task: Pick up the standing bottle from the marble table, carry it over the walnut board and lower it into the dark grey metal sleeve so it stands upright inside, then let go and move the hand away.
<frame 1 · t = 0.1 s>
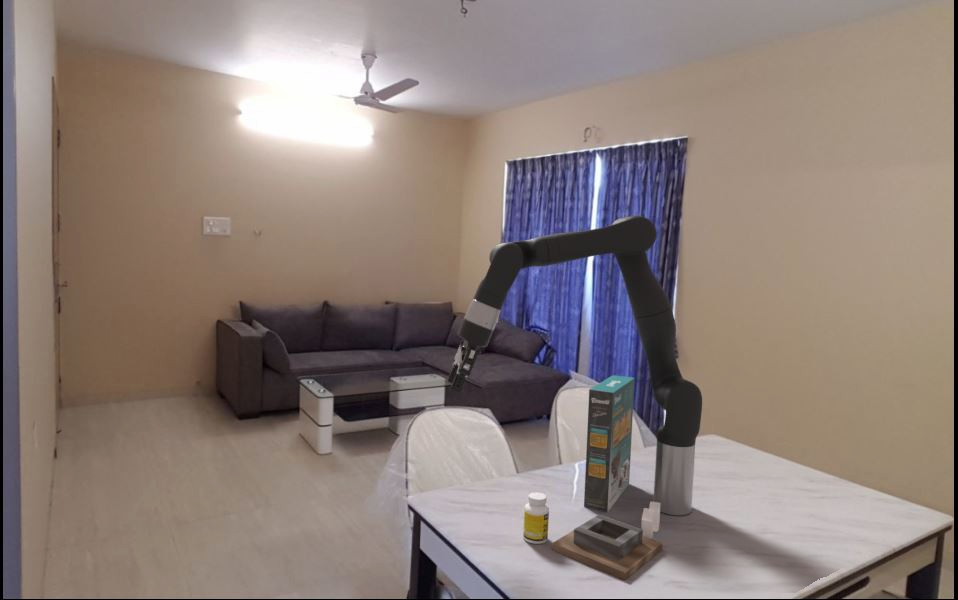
hand: (453, 386, 138), 31 cm above the table, tool tilted 20°, fingers open, 8 cm apart
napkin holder: (652, 534, 136), on the table
supplement bottle: (535, 539, 131), on the table
cake mix box: (607, 495, 157), on the table
sleeve board: (607, 549, 127), on the table
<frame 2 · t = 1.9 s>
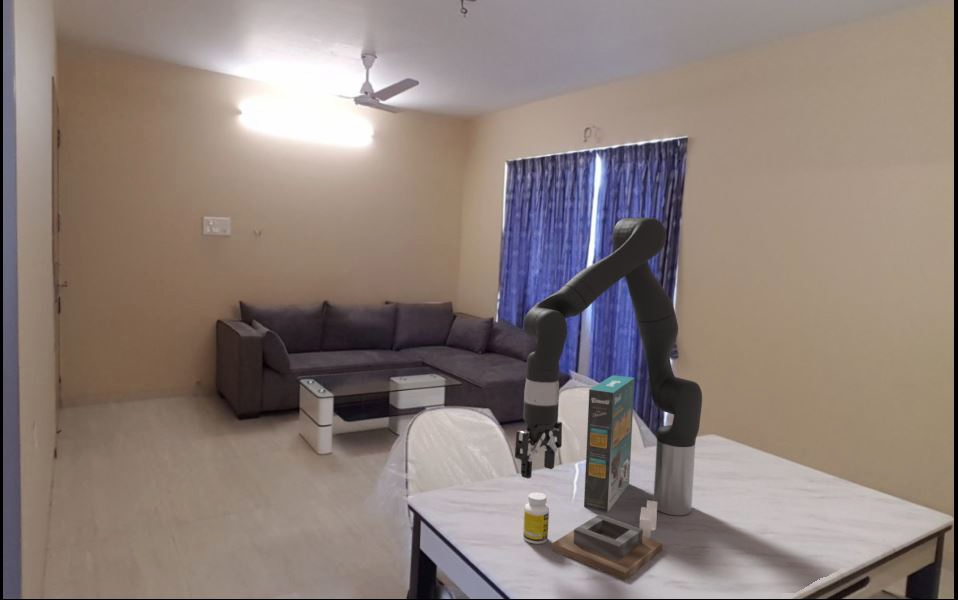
hand: (537, 472, 130), 15 cm above the table, tool pointing down, fingers open, 8 cm apart
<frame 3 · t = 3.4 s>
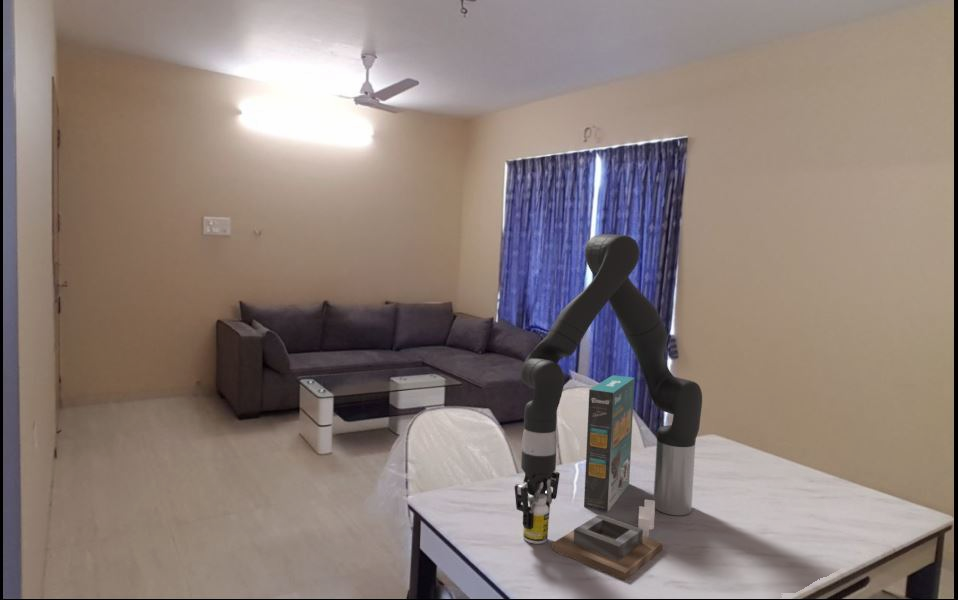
hand: (536, 523, 131), 4 cm above the table, tool pointing down, fingers closed on supplement bottle, 5 cm apart
supplement bottle: (535, 539, 131), on the table, touching gripper
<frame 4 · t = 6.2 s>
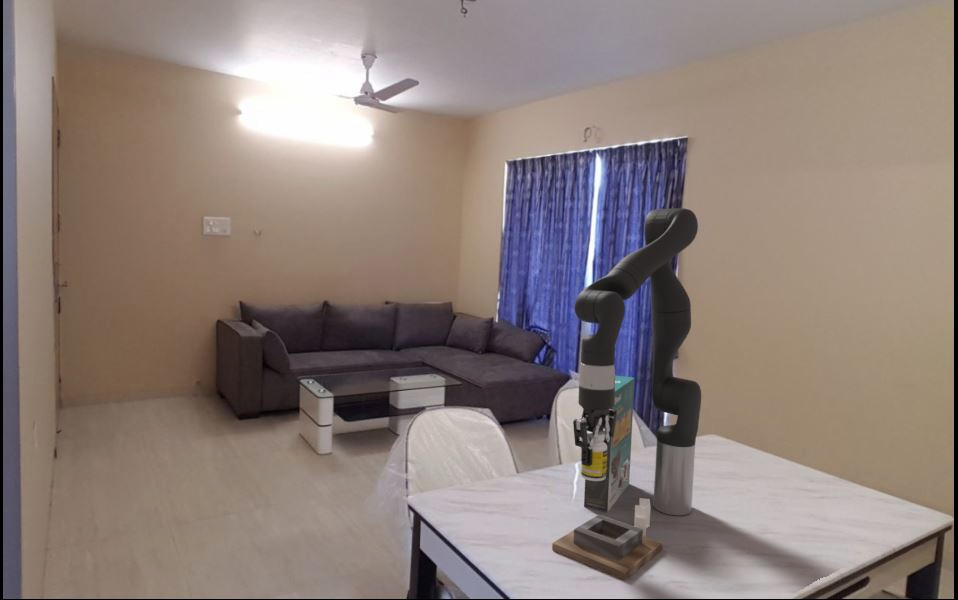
hand: (594, 461, 127), 19 cm above the table, tool pointing down, fingers closed on supplement bottle, 5 cm apart
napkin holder: (644, 530, 138), on the table
supplement bottle: (593, 478, 127), point 15 cm above the table, touching gripper
everything else where it was.
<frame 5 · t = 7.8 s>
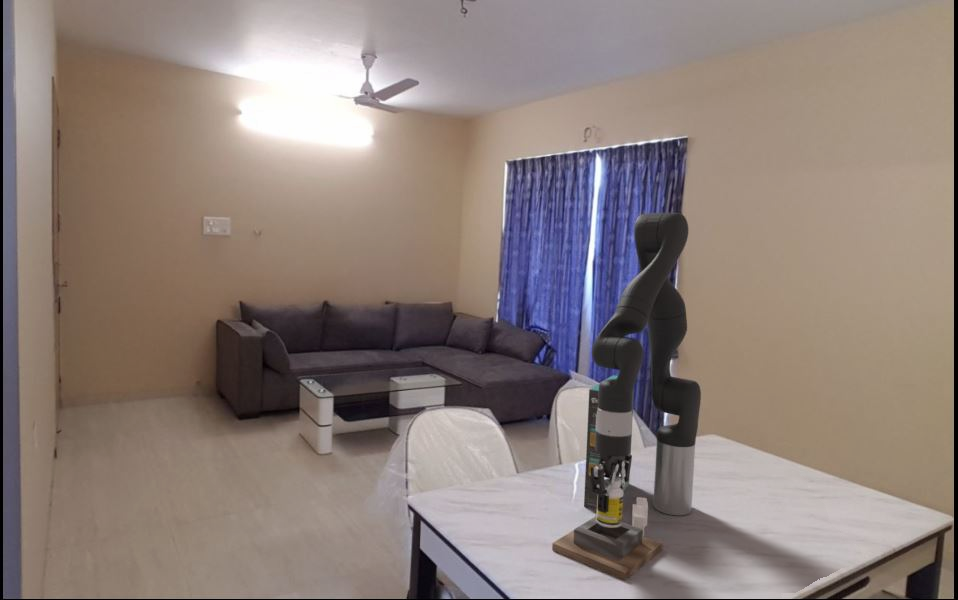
hand: (609, 506, 126), 9 cm above the table, tool pointing down, fingers closed on supplement bottle, 5 cm apart
supplement bottle: (608, 523, 126), point 6 cm above the table, touching gripper
when the fingers open (6 cm above the table, at t = 8.9 s): supplement bottle drops 1 cm, resting on sleeve board.
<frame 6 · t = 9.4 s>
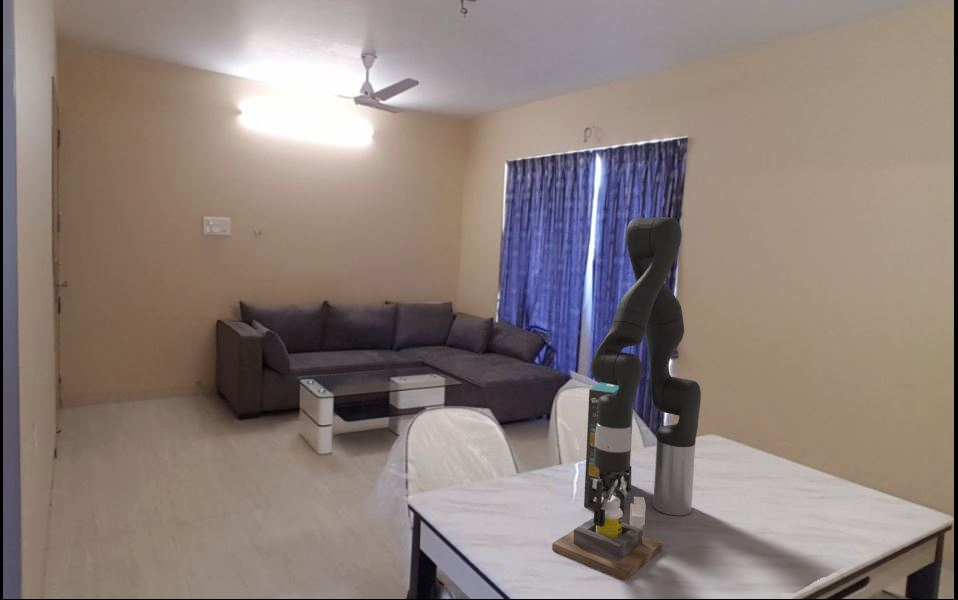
hand: (609, 519, 126), 7 cm above the table, tool pointing down, fingers open, 8 cm apart
supplement bottle: (608, 543, 127), point 1 cm above the table, touching sleeve board
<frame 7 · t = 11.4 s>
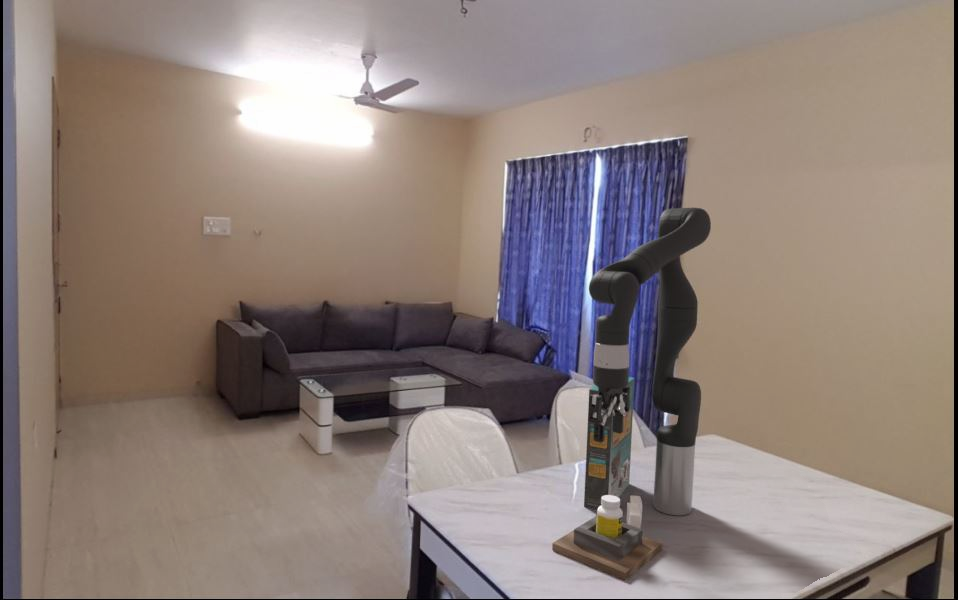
hand: (608, 436, 129), 24 cm above the table, tool pointing down, fingers open, 8 cm apart
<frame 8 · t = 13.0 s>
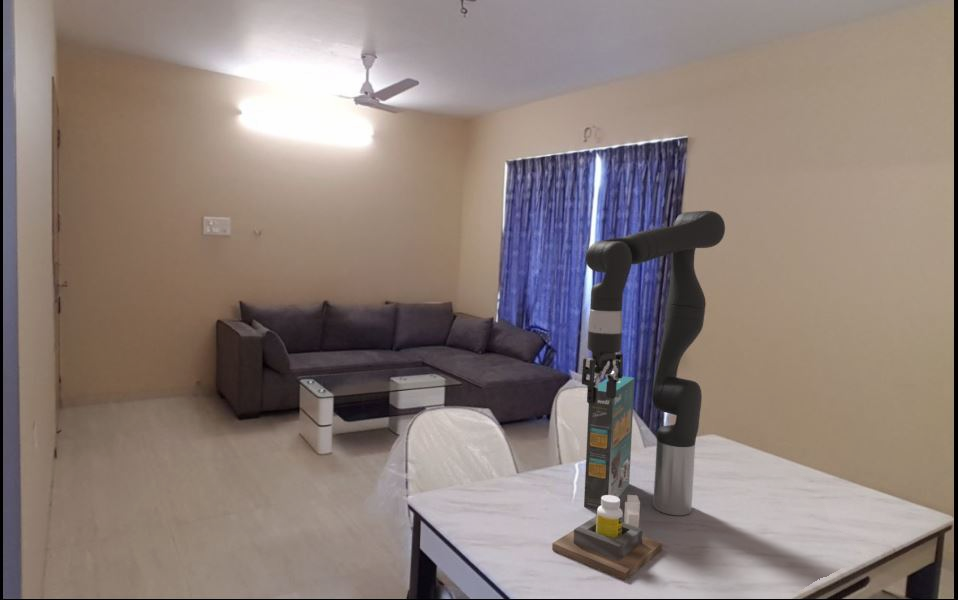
hand: (601, 400, 135), 30 cm above the table, tool pointing down, fingers open, 8 cm apart
at the end: supplement bottle 0.1 cm off-centre on the sleeve board, point 1.3 cm above the sleeve board's base; supplement bottle tilted 0°; the gripper is holding nothing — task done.
